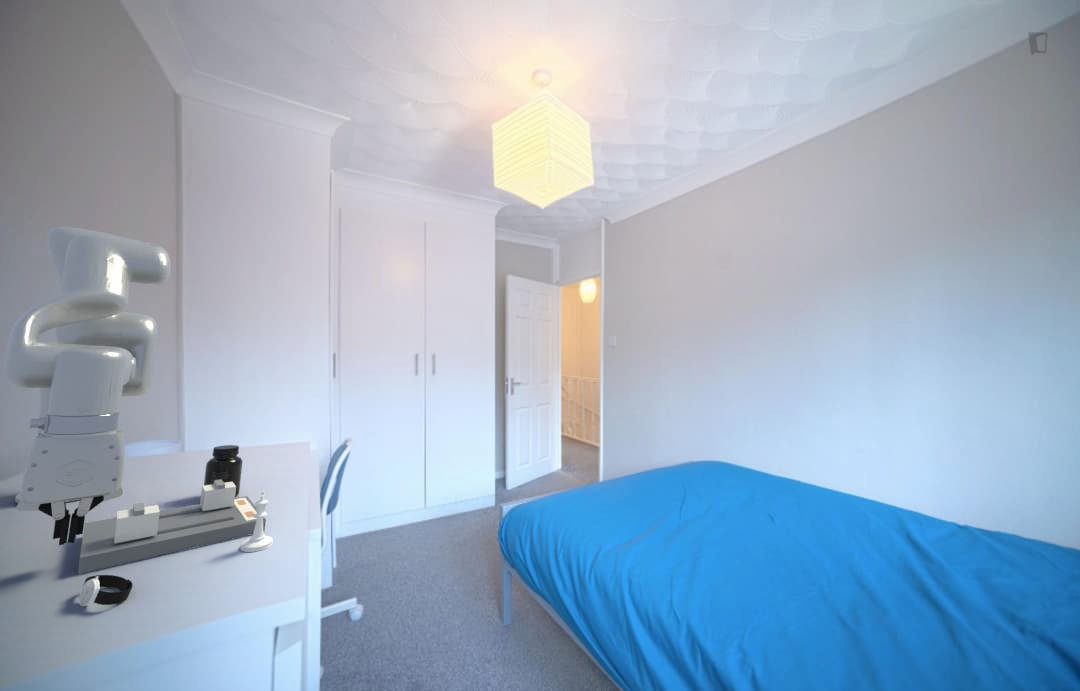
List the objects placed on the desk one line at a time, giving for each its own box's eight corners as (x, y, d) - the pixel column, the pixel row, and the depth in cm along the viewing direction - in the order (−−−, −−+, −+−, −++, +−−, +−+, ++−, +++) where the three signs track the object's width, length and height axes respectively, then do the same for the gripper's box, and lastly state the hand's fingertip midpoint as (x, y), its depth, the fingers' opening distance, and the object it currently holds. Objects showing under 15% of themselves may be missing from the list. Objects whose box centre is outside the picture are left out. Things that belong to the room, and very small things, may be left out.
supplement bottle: (246, 494, 95) (251, 445, 95) (220, 504, 88) (226, 451, 89) (221, 491, 96) (226, 442, 96) (193, 500, 89) (200, 448, 89)
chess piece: (237, 554, 68) (243, 497, 68) (243, 541, 72) (249, 488, 73) (270, 549, 70) (276, 494, 71) (274, 538, 75) (280, 486, 75)
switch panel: (83, 537, 70) (85, 522, 70) (245, 507, 87) (247, 495, 88) (77, 574, 59) (80, 556, 59) (264, 531, 77) (265, 518, 77)
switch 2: (199, 505, 80) (202, 481, 80) (229, 500, 84) (232, 477, 84) (202, 511, 77) (205, 487, 77) (234, 505, 81) (236, 482, 81)
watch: (68, 599, 54) (71, 572, 54) (115, 582, 58) (118, 558, 58) (93, 617, 51) (97, 589, 51) (141, 598, 55) (144, 572, 55)
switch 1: (114, 534, 66) (117, 506, 66) (155, 527, 69) (158, 500, 70) (113, 543, 63) (117, 514, 63) (156, 535, 67) (160, 507, 67)
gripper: (-2, 432, 53) (-21, 566, 53) (150, 425, 65) (136, 536, 64) (8, 423, 58) (-9, 546, 58) (148, 418, 70) (135, 521, 69)
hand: (67, 540), depth 61 cm, fingers closed
